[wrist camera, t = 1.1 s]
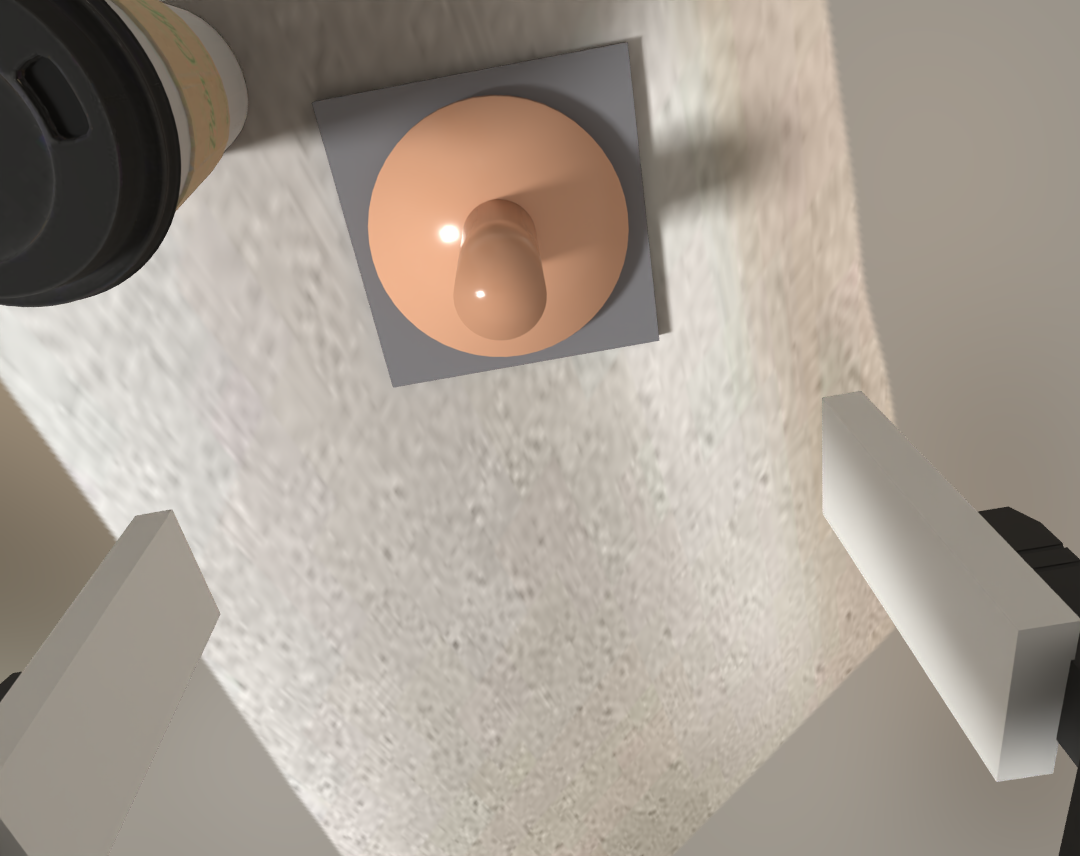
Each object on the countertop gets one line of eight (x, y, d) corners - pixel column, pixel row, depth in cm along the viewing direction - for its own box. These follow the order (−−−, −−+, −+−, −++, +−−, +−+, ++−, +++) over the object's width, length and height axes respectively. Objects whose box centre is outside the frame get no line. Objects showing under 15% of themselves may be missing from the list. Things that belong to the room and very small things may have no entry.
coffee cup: (336, 79, 33) (227, 129, 19) (211, 248, 36) (42, 393, 22) (125, -109, 29) (-180, -203, 16) (6, 95, 32) (-334, 157, 19)
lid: (340, 121, 33) (289, 159, 25) (608, 71, 32) (644, 92, 24) (406, 367, 38) (382, 462, 30) (638, 326, 38) (676, 412, 30)
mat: (314, 101, 33) (311, 102, 32) (625, 41, 32) (627, 42, 32) (394, 382, 39) (393, 387, 39) (657, 336, 39) (659, 340, 38)
